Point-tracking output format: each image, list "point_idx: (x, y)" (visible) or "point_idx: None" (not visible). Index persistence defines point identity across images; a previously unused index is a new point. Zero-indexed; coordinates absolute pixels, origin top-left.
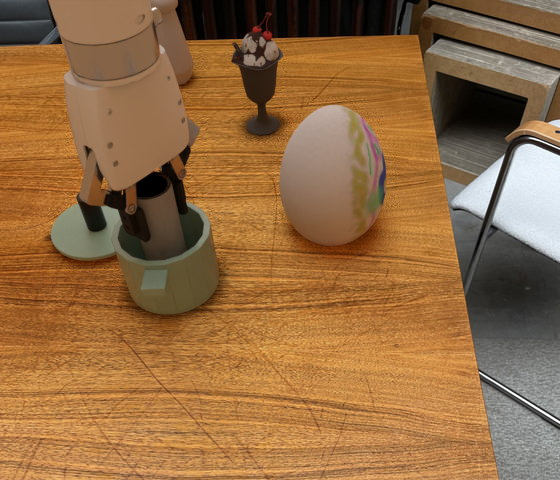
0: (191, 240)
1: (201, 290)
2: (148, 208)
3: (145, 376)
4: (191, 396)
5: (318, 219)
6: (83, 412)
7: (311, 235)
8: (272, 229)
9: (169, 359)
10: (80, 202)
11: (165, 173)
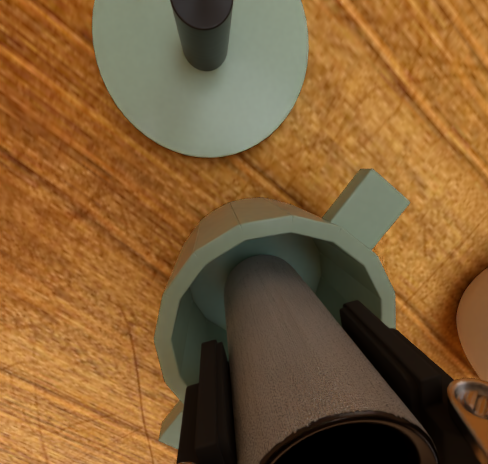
0: (327, 253)
1: None
2: None
3: (130, 403)
4: (168, 453)
5: None
6: (29, 413)
7: (469, 358)
8: (438, 263)
9: (172, 395)
10: (173, 9)
11: (442, 447)
